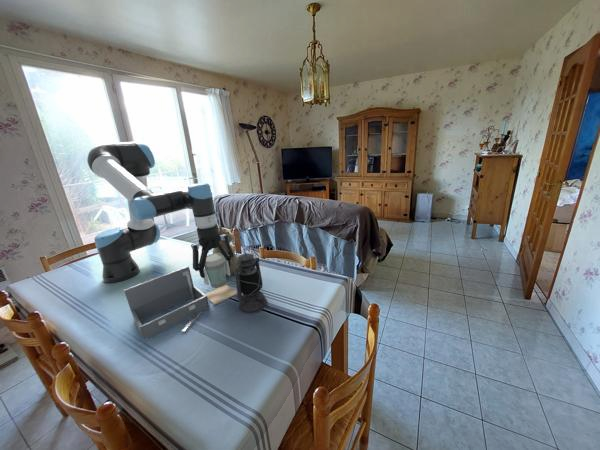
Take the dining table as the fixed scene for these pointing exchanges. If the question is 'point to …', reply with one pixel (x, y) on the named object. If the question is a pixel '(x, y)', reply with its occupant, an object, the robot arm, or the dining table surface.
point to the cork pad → (220, 294)
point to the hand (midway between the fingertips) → (217, 278)
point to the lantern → (249, 283)
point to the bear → (215, 250)
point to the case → (164, 301)
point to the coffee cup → (216, 269)
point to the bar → (191, 322)
